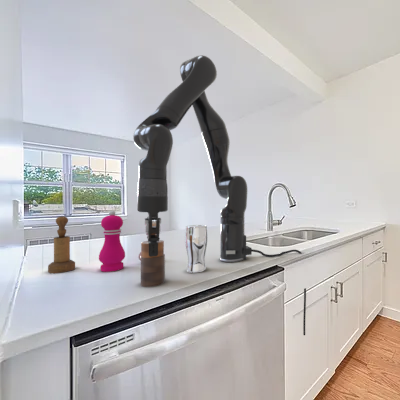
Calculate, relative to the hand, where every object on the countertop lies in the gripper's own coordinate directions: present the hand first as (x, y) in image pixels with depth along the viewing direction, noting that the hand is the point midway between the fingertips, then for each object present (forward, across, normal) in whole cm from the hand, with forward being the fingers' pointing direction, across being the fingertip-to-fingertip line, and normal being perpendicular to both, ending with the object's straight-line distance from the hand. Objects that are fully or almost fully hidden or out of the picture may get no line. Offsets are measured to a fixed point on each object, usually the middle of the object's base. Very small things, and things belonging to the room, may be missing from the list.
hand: (152, 253), depth 73 cm
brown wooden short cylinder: (+1, 0, 0) cm, 1 cm away
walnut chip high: (+5, 0, 0) cm, 5 cm away
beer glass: (+9, +7, -13) cm, 17 cm away
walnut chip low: (+8, 0, 0) cm, 8 cm away
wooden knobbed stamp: (+9, +30, +25) cm, 40 cm away
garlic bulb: (+9, +27, 0) cm, 28 cm away
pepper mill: (+9, +23, +11) cm, 27 cm away
